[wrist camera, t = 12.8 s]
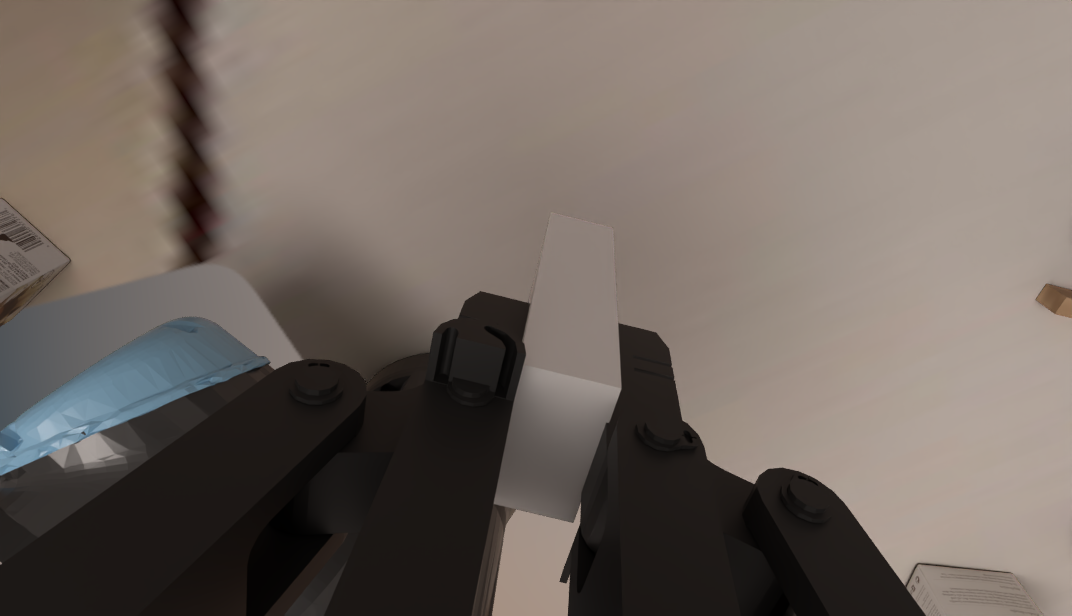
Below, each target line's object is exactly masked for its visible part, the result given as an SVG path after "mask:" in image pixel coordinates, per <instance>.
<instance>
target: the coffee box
mask: <svg viewBox="0 0 1072 616" xmlns="http://www.w3.org/2000/svg"><path fill="white" fill-rule="evenodd" d="M69 262H70V260H69V258H68V257H66V256H65V255H64V254H63V253H62V252H61V251H60V250H59V249H58V248H56V247H55V246H54V245H53V244H52V243H51V242H50V241H49V240H48V239H46V238H45V237H44V236H43V235H42V234H41V233H40V232H39V231H38V230H37V229H36V228H34V227H33V226H32V225H31V224H30V223H29V222H28V221H27V220H26V219H24V218H23V217H22V216H21V215H20V214H19V213H18V212H17V211H16V210H14V209H13V208H12V207H11V206H10V205H9V204H8V203H7V202H6V201H5V200H3V199H1V198H0V326H2V325H4V324H5V323H7V322H9V321H10V320H12V319H13V318H14V317H15V316H16V315H17V314H18V313H19V312H20V311H21V310H22V309H23V308H24V307H25V306H26V305H27V304H28V303H29V302H30V301H31V300H32V299H33V298H34V297H35V296H36V295H37V294H38V293H39V292H40V291H41V290H42V289H43V288H44V287H45V286H46V285H47V284H48V283H49V282H50V281H51V280H52V279H53V278H54V277H55V276H56V275H57V274H58V273H59V272H60V271H61V270H62V269H63V268H64V267H65V266H66V265H67V264H68V263H69Z"/></svg>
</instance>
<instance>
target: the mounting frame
mask: <svg viewBox="0 0 1072 616" xmlns="http://www.w3.org/2000/svg"><path fill="white" fill-rule="evenodd" d="M1036 300H1037V301H1038V302H1039V303H1041V304H1042V305H1044V306H1045V307H1046V308H1048V309H1049V310H1050V311H1052V312H1053V313H1054V314H1057V315H1061V316H1065V317H1069V318H1072V290H1069V289H1065V288H1061V287H1057V286H1053V285H1049V284H1046V285H1045V287H1044V288H1043V290H1042V291H1041V293H1040V294H1039V296H1038V297H1037V299H1036Z"/></svg>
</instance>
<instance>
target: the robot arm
mask: <svg viewBox="0 0 1072 616" xmlns="http://www.w3.org/2000/svg"><path fill="white" fill-rule="evenodd" d="M268 364H270V361H269V360H268V359H267V358H266V357H264V356H257V355H256V354H255V353H253V352H252V351H251V350H250V349H248V348H247V347H246V346H245V345H243V344H242V343H241V342H239V341H238V340H237V339H236V338H234V337H233V336H232V335H231V334H229V333H228V332H227V331H226V330H224V329H223V328H222V327H220V326H219V325H218V324H216V323H214V322H212V321H210V320H208V319H205V318H200V317H182V318H178V319H174V320H171V321H169V322H166V323H164V324H162V325H160V326H157V327H156V328H154V329H152V330H150V331H148V332H146V333H145V334H143V335H141V336H139V337H138V338H136V339H134V340H132V341H131V342H129V343H127V344H126V345H124V346H122V347H121V348H119V349H118V350H116V351H114V352H113V353H111V354H109V355H108V356H107V357H105V358H103V359H101V360H100V361H98V362H97V363H95V364H94V365H92V366H90V367H89V368H88V369H86V370H84V371H83V372H81V373H80V374H78V375H77V376H75V377H74V378H72V379H71V380H69V381H68V382H66V383H65V384H63V385H62V386H60V387H59V388H57V389H56V390H55V391H53V392H52V393H51V394H49V395H47V396H46V397H44V398H43V399H42V400H40V401H39V402H37V403H36V404H35V405H33V406H32V407H31V408H29V409H28V410H26V411H25V412H24V413H23V414H21V415H20V416H19V417H18V418H17V420H16V421H14V422H12V423H10V424H9V425H8V426H6V427H5V428H4V429H3V430H2V431H1V432H0V616H492V611H493V604H494V597H495V591H496V585H497V578H498V571H499V565H500V558H501V552H502V545H503V537H504V532H505V526H506V524H507V522H508V521H509V519H510V518H511V516H512V515H513V513H514V512H515V510H516V509H517V510H522V511H526V512H530V513H534V514H539V515H543V516H547V517H551V518H555V519H560V520H564V521H568V522H572V523H573V522H574V520H575V517H576V514H577V511H578V508H579V506H580V503H581V519H580V526H579V528H578V531H577V534H576V537H575V539H574V542H573V545H572V548H571V550H570V553H569V556H568V558H567V561H566V564H565V566H564V569H563V572H562V576H561V578H560V582H563V583H567V580H568V578H569V575H570V586H569V606H568V616H926V615H925V613H924V612H923V611H922V609H921V608H920V606H919V605H918V604H917V602H916V601H915V600H914V598H913V597H912V595H911V594H910V593H909V591H908V590H907V589H906V587H905V586H904V584H903V583H902V582H901V580H900V579H899V578H898V576H897V575H896V573H895V572H894V571H893V569H892V568H891V566H890V565H889V564H888V562H887V561H886V560H885V558H884V557H883V555H882V554H881V553H880V551H879V550H878V549H877V547H876V546H875V544H874V543H873V542H872V540H871V539H870V538H869V536H868V535H867V533H866V532H865V531H864V529H863V528H862V527H861V525H860V524H859V522H858V521H857V520H856V518H855V517H854V515H853V514H852V513H851V511H850V510H849V509H848V507H847V506H846V505H845V503H844V502H843V501H842V500H841V499H840V498H839V497H838V496H837V495H836V494H835V493H834V492H833V491H832V490H831V489H829V488H828V487H826V486H825V485H824V484H822V483H821V482H819V481H818V480H817V479H815V478H813V477H811V476H808V475H806V474H804V473H801V472H799V471H795V470H790V469H785V468H774V469H768V470H766V471H765V472H763V473H762V474H761V475H759V477H758V479H757V481H756V483H755V484H753V483H751V482H748V481H746V480H744V479H742V478H740V477H738V476H736V475H733V474H731V473H729V472H727V471H725V470H723V469H722V468H720V467H718V466H716V465H714V464H713V463H711V462H710V461H709V460H707V457H706V453H705V448H704V445H703V443H702V441H701V439H700V437H699V435H698V434H697V433H696V432H695V431H694V430H693V429H692V428H691V427H690V426H689V425H688V424H687V423H685V422H684V421H682V417H681V412H680V406H679V401H678V395H677V390H676V384H675V381H674V374H673V368H672V367H671V366H672V363H671V357H670V352H669V348H668V347H667V346H666V344H665V343H664V342H663V341H662V339H661V338H660V337H659V336H658V334H657V333H656V332H652V331H648V330H644V329H640V328H636V327H631V326H627V325H623V324H619V323H618V310H617V290H616V271H615V251H614V232H613V227H609V226H605V225H601V224H597V223H593V222H589V221H585V220H581V219H577V218H573V217H569V216H565V215H561V214H557V213H553V212H551V213H550V217H549V221H548V225H547V229H546V233H545V237H544V241H543V245H542V249H541V253H540V257H539V261H538V265H537V269H536V273H535V277H534V281H533V285H532V289H531V293H530V296H529V300H528V303H526V302H522V301H518V300H514V299H510V298H506V297H502V296H498V295H494V294H490V293H486V292H481V291H480V292H479V293H477V294H475V295H474V296H472V297H471V298H469V299H467V300H466V301H465V303H464V305H463V308H462V310H461V312H460V315H459V317H458V319H453V320H450V321H448V322H445V323H442V324H441V325H440V326H439V327H438V328H437V329H436V330H435V331H434V332H433V338H432V343H431V349H430V354H421V355H416V356H411V357H408V358H405V359H402V360H399V361H397V362H394V363H393V364H391V365H389V366H387V367H386V368H384V369H383V370H381V371H380V372H379V373H378V374H376V375H375V376H374V377H373V378H372V380H371V381H370V382H369V383H368V384H367V386H366V382H365V381H364V380H363V378H362V377H361V376H360V374H359V373H358V372H356V371H355V370H353V369H351V368H350V367H348V366H346V365H344V364H341V363H337V362H333V361H330V360H315V359H307V360H302V361H296V362H291V363H288V364H286V365H284V366H282V367H280V368H278V369H276V370H274V369H273V368H271V367H270V366H269V365H268Z"/></svg>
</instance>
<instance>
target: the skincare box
mask: <svg viewBox="0 0 1072 616" xmlns="http://www.w3.org/2000/svg"><path fill="white" fill-rule="evenodd" d="M906 589H907V590H908V591H909V593H910V594H911V595H912V597H913V598H914V600H915V601H916V602H917V604H918V605H919V606H920V608H921V609H922V611H923V612H924V613H925V615H926V616H1044V615H1043V614H1042V612H1041V611H1040V610H1039V608H1038V607H1037V606H1036V604H1035V603H1034V602H1033V600H1032V599H1031V598H1030V596H1029V595H1028V594H1027V592H1026V591H1025V590H1024V588H1023V587H1022V585H1021V584H1020V583H1019V581H1018V580H1017V579H1016V577H1015V576H1014V575H1013V574H1012V573H1003V572H992V571H981V570H971V569H961V568H950V567H941V566H930V565H920V564H919V565H917V567H916V569H915V571H914V573H913V575H912V577H911V579H910V581H909V583H908V585H907V588H906Z"/></svg>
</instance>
